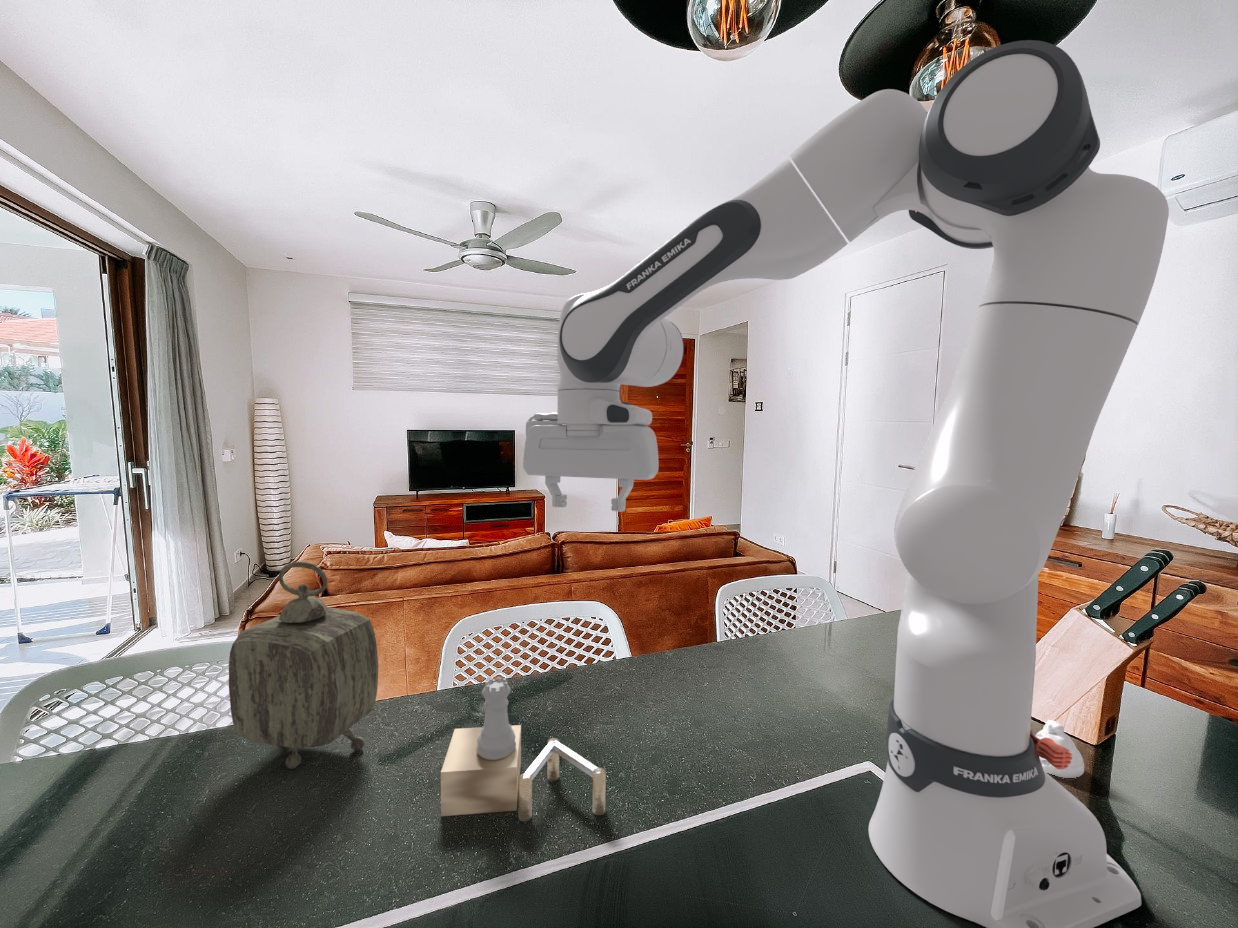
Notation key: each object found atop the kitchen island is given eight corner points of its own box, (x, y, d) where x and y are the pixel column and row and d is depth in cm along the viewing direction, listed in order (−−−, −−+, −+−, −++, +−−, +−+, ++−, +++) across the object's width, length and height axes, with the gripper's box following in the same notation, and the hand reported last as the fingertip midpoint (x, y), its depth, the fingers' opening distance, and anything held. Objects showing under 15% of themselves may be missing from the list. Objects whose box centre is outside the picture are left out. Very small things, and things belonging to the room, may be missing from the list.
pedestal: (521, 763, 65) (521, 724, 64) (516, 810, 57) (516, 766, 57) (455, 767, 64) (454, 728, 63) (441, 816, 56) (440, 772, 56)
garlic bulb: (1020, 709, 68) (1065, 711, 68) (1017, 752, 69) (1061, 755, 68) (1050, 733, 63) (1099, 736, 62) (1047, 780, 63) (1095, 784, 63)
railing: (599, 769, 64) (600, 734, 63) (605, 814, 56) (606, 775, 56) (522, 775, 63) (522, 739, 62) (518, 821, 55) (518, 781, 55)
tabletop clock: (380, 744, 68) (376, 558, 66) (327, 791, 59) (321, 578, 57) (288, 728, 71) (282, 550, 69) (225, 771, 62) (216, 568, 61)
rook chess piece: (506, 765, 57) (506, 695, 56) (469, 759, 58) (468, 690, 57) (522, 741, 61) (522, 675, 61) (487, 736, 62) (486, 671, 61)
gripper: (514, 412, 75) (514, 507, 75) (647, 410, 67) (646, 516, 68) (537, 414, 81) (537, 502, 81) (662, 412, 73) (661, 510, 73)
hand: (588, 509), depth 74 cm, fingers open, 8 cm apart
